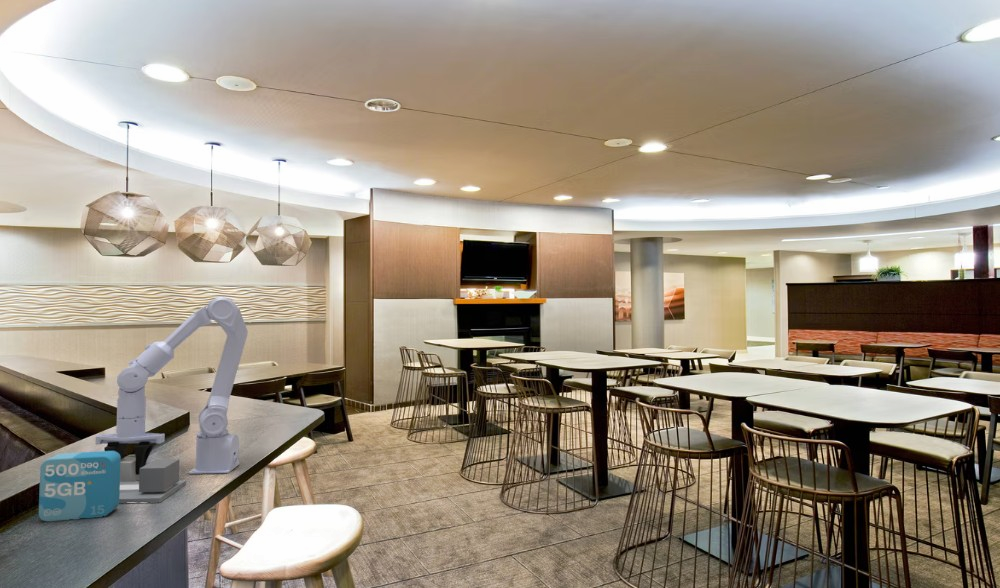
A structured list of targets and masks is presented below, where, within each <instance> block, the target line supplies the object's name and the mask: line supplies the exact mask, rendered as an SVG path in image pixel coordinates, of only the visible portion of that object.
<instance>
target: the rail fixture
mask: <svg viewBox="0 0 1000 588" xmlns="http://www.w3.org/2000/svg"><path fill="white" fill-rule="evenodd" d="M186 485H187V480H185V479H184V480H180V459H179V458H177V459H176V458H174V459H173V458H172V459H171V458H170V459H155V460H153V461H151V462H149V463H146V465H145V466H143V467H142V468H140V470H139V479H138V480H137V481H135V482H120V495H119V503H127V502H150V503H149V504H161V503H162V502H163V501H165V500H166V499H168V498H169V497H170V496H172V495H173V494H175V493H176V492H178V491H179V490H180V489H182V488H183V487H185V486H186ZM164 499H165V500H164ZM158 502H159V503H158Z"/></svg>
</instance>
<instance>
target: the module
mask: <svg viewBox="0 0 1000 588" xmlns="http://www.w3.org/2000/svg"><path fill="white" fill-rule="evenodd" d="M136 480H137V481H139V475H136V456H135V454H128V455H127V456H124V458H122V459H121V463H120V482H137V481H136Z"/></svg>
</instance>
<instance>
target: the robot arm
mask: <svg viewBox="0 0 1000 588" xmlns="http://www.w3.org/2000/svg"><path fill="white" fill-rule="evenodd" d="M211 320H213V321H214V322H216V323H217V324H218V325H219V326H220V328H221V329H222V331H223V332H224V333H225V334H226V339H225V342H224V345H223V350H222V352H221V356H220V359H219V363H218V365H217V366H218V367H217V369H216V374H215V376H214V380H213V383H212V386H211V387H212V388H211V390H210V395H209V396H208V399H207V402H206V405H205V407H204V408H203V409H202V410H201V411H200V413H199V415H198V422H199V431H198V432H197V433H196V446H195V447H196V449H195V467H194V468H192V469H191V470H189V472H188V475H189V474H192V475H193V474H194V475H195V474H196V475H197V474H199V475H200V474H228V473H230V472H232V471H233V470H234V469H236V468H237V467H238V466H239V465H240V462H239V456H240V455H239V454H240V452H239V451H240V440H239V439H240V438H239V436H238V434H231V433H229V430H228V429H227V427H228V425H229V424H228V423H229V422H228V416H227V414H228V410H229V402H230V399H231V398H230V397H231V394H232V391H233V387H234V384H235V380H236V376H237V373H238V368H239V366H240V362H241V360H242V359H241V358H242V355H243V352H244V348H245V344H246V342H247V337H248V334H249V333H248V332H249V330H248V327H247V325H246V322H245V320H244V318H243V316H242V312H241V309H240V307H238V305H237V304H236V303H235V302H234V301H233V300H232V299H230V297H229V298H228V297H225V296H220V297H216V298H213V299H211V300H210V301H209V303H208V304H205V305H204V306H202V307H201V308H199V309H197V310H196V311H194V312H193V313H192V314H191V315H190V316H189V317H188V318H186V320H185V321H184V322H183V323H182V324H180V325H179V326H178V327H177V328H176V329H175V330H174V331H173V332H172V333H171V334H170V335H169V336H168V337H167V338H165V340H162V341H154V342H153V343H152V344H150V343H148V344H147V345H146V346H144V349H145V350H144V351H143V352H142V353H141V354H140V355H138V356H137V357H136V358H135V359H134V360H133V359H131V360H130V361H128V363H127V364H128V365H129V366H127V367H125V368H124V369H122V370H121V371H120V373H119V374H118V376H117V379H116V383H117V386H118V387H119V388H118V391H117V395H118V398H117V399H116V429H115V430H116V432H115V433H112V434H111V433H107V434H106V433H105V434H99V435H96V436H95V445H102V444H104V445H106V444H107V445H106V446H105V447H104V450H103V451H116V452H117V453H119V455H120V457H121V459H122V458H124V457H125V455H126V449H127V444H136V445H134V446H133V450H134V455H135V456H136V475H139V470H140V468H142V467H143V466H145V465H147V461H148V458H149V456H150V454H151V452H152V450H153V449H154V447H155V446H156V444H162V443H165V440H166V439H165V438H166V437H165V436H166V435H165V433H154V432H146V411H147V410H146V407H147V396H146V385H147V381H148V379H149V378H151V377H154V376H156V375H157V374H158V373H159V372H160V370H161V371H162V369H163V368H164V367H165V366H166V365H167V364H168V363H169V362H171V361H172V360H173V359H174V358H175V349H177V348H178V346H180V345H181V344H182V343H183V342H184V341H186V339H188V338H189V337H190V336H191V335H192V334H193V333H194V332H196V331H197V330H198V329H199V328H201V327H204V326H207V325H211V324H213V322H212V321H211Z"/></svg>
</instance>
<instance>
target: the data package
mask: <svg viewBox="0 0 1000 588" xmlns="http://www.w3.org/2000/svg"><path fill="white" fill-rule="evenodd" d="M120 463H121V457H120V455H119V453H117V452H116V451H104V450H101V451H86V452H85V451H81V452H61V453H57V454H56V455H54V456H52V457H49V458H47V459H45V460H44V461H43V462H42V463H41V464H40V466H39V467H40V468H39V469H40V470H39V472H40V473H39V492H38V493H39V494H38V495H39V496H38V498H39V499H38V517H39V518H40V520H42V521H43V522H60V521H61V522H62V521H70V520H69V519H74V520H77V519H76V518H87V519H95V518H94V517H100V518H102V517H101V516H104V517H106V516H108V515H109V514H110V513H111V512H113V511H114V510H115V509H116V508H117V507H118V506H119V505H120V504H119V495H120Z"/></svg>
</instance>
